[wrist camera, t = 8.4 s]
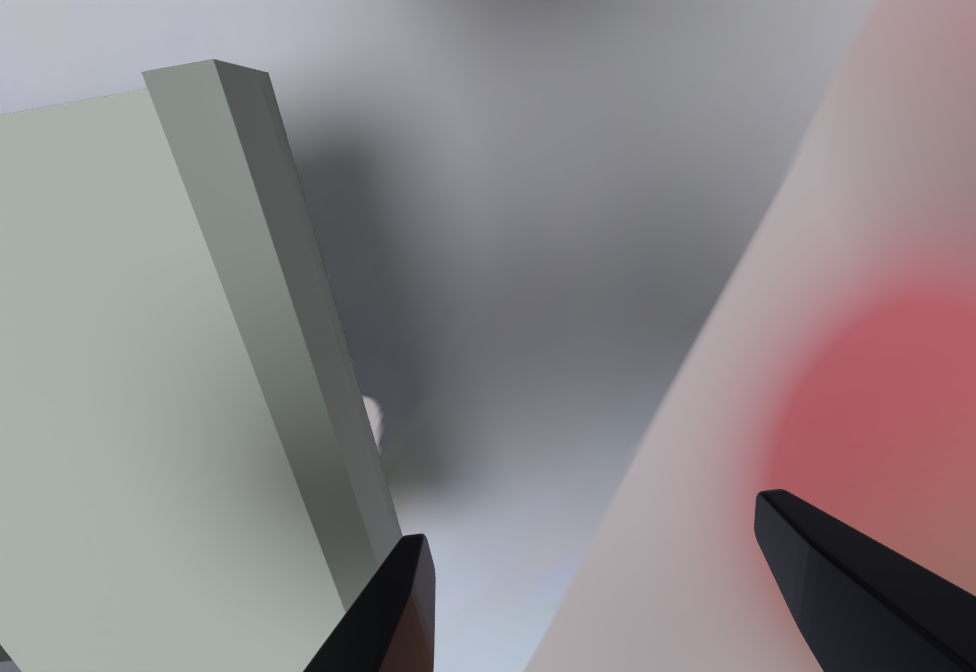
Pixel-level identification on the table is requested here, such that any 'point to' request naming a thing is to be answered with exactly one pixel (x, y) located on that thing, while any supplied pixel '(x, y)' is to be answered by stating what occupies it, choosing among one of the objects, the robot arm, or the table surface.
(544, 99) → the table surface
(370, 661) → the robot arm
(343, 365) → the lid
